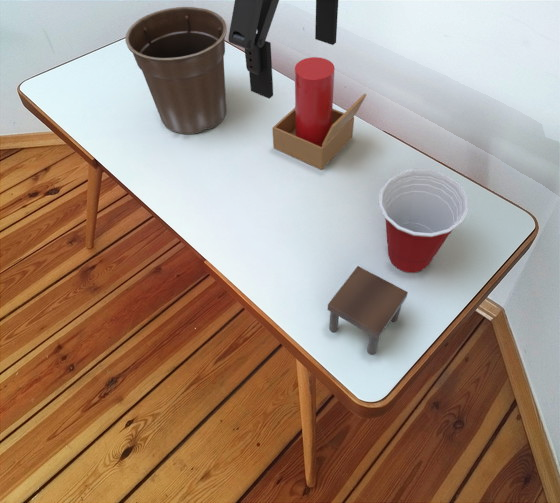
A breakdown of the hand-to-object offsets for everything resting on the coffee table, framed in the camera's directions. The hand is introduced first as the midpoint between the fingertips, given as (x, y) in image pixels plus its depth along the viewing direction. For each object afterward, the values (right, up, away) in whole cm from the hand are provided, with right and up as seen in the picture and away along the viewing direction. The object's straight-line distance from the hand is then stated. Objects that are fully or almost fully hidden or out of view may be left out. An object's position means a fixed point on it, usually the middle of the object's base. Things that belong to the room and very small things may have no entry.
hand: (295, 66), depth 63 cm
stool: (+9, -32, +3) cm, 33 cm away
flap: (+8, -2, +18) cm, 20 cm away
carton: (+4, -4, +26) cm, 26 cm away
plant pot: (-18, +2, +32) cm, 37 cm away
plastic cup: (+16, -24, +10) cm, 30 cm away
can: (+4, -4, +25) cm, 26 cm away
